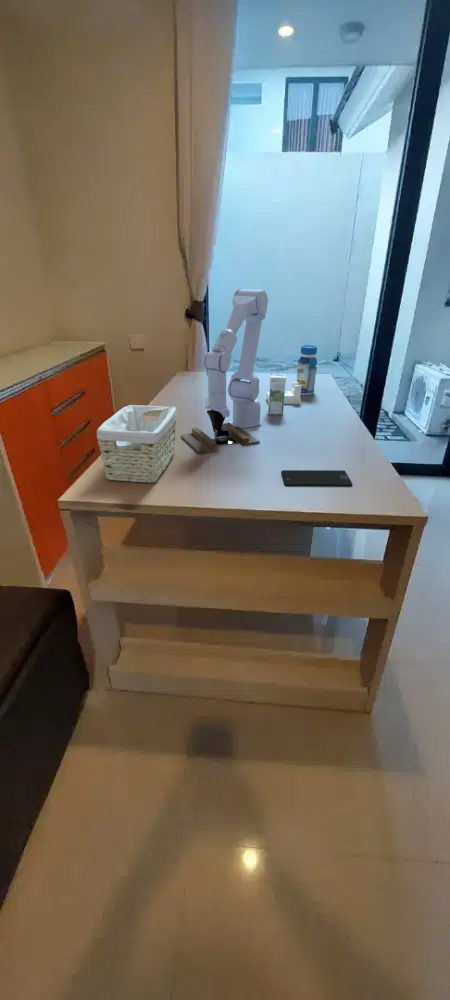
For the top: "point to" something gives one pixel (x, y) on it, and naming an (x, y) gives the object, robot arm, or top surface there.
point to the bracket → (291, 394)
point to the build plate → (224, 440)
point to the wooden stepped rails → (206, 444)
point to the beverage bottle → (307, 369)
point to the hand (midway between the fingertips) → (217, 431)
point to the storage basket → (137, 443)
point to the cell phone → (315, 478)
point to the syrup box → (276, 394)
